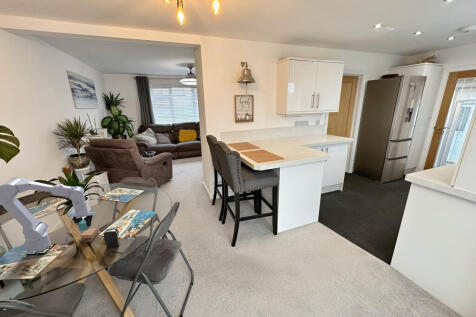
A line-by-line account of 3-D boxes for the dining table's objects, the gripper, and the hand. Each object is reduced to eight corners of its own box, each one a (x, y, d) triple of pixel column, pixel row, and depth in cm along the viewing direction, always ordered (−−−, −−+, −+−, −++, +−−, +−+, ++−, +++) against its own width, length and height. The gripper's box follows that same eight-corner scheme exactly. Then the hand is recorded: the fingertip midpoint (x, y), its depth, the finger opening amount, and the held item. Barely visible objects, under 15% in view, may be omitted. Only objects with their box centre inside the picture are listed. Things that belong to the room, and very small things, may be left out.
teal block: (79, 230, 110) (77, 223, 108) (84, 226, 114) (82, 219, 112) (87, 230, 111) (85, 223, 109) (91, 225, 114) (89, 219, 113)
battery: (121, 242, 113) (118, 226, 109) (119, 246, 110) (116, 231, 106) (108, 243, 111) (105, 228, 108) (105, 248, 108) (102, 232, 104)
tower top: (81, 238, 112) (80, 235, 111) (87, 231, 117) (86, 228, 117) (92, 238, 113) (91, 234, 112) (97, 231, 118) (97, 228, 117)
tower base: (79, 243, 112) (78, 239, 111) (87, 234, 118) (86, 231, 117) (92, 242, 113) (91, 239, 112) (98, 234, 119) (98, 231, 118)
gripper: (61, 211, 103) (67, 230, 107) (89, 210, 105) (94, 229, 109) (70, 204, 110) (76, 223, 114) (96, 203, 111) (101, 222, 116)
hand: (85, 225), depth 112 cm, fingers closed on teal block, 4 cm apart
